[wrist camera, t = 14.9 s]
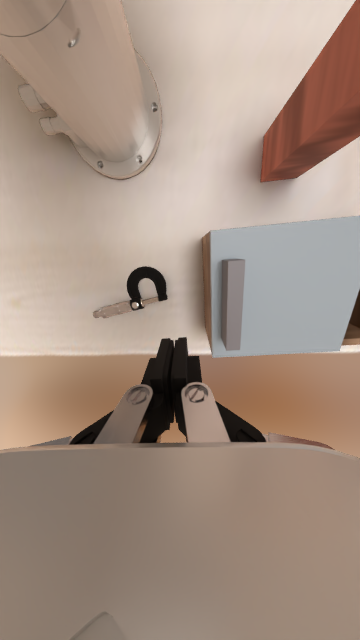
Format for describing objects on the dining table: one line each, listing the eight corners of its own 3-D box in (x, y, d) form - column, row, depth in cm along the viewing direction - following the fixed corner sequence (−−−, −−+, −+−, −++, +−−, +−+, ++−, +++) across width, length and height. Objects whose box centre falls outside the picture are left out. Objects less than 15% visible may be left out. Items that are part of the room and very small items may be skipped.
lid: (211, 353, 25) (216, 371, 21) (209, 231, 19) (215, 226, 15) (333, 347, 23) (360, 364, 20) (373, 215, 17) (423, 205, 14)
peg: (260, 182, 24) (425, 29, 8) (264, 135, 22) (494, -205, 6) (296, 177, 24) (552, 8, 7) (303, 130, 22) (671, -248, 5)
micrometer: (160, 261, 29) (157, 262, 27) (171, 299, 32) (170, 303, 29) (83, 283, 31) (75, 286, 29) (100, 317, 34) (93, 322, 31)
